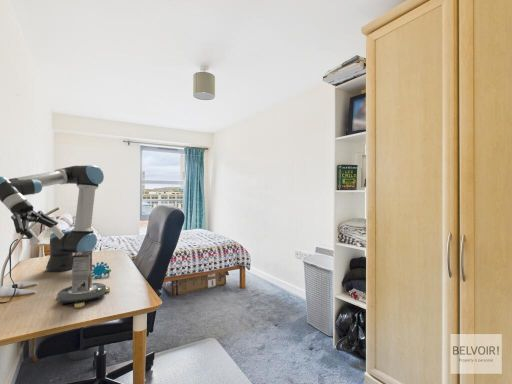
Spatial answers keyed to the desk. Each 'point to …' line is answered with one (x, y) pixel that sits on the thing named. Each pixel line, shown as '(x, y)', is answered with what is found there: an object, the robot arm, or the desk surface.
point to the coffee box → (81, 271)
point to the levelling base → (82, 295)
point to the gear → (100, 270)
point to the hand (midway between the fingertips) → (50, 239)
